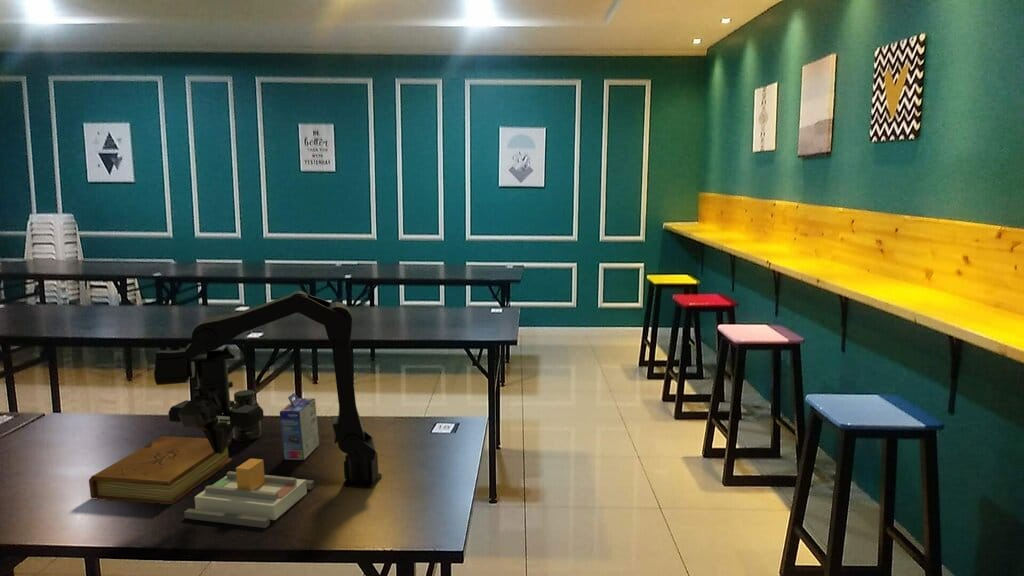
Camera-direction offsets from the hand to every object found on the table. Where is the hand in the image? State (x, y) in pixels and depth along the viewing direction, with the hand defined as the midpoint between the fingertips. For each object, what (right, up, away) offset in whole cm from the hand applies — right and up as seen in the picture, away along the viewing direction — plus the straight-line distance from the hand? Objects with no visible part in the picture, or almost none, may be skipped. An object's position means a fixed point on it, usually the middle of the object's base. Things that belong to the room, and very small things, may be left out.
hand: (219, 453), depth 146 cm
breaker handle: (+7, -7, -1) cm, 10 cm away
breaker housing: (+7, -10, 0) cm, 12 cm away
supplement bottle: (-8, -5, +36) cm, 37 cm away
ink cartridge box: (+9, -6, +26) cm, 28 cm away
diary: (-17, -9, +12) cm, 23 cm away
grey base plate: (+7, -10, 0) cm, 12 cm away
